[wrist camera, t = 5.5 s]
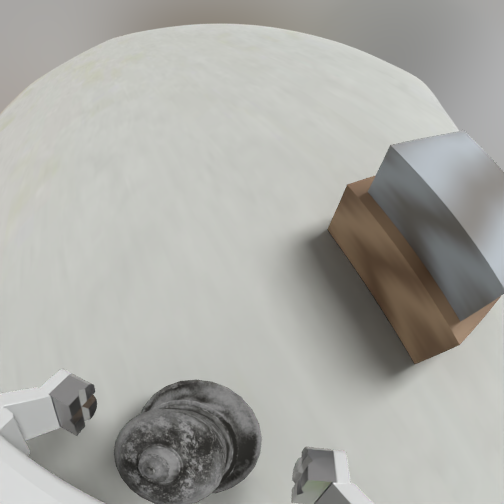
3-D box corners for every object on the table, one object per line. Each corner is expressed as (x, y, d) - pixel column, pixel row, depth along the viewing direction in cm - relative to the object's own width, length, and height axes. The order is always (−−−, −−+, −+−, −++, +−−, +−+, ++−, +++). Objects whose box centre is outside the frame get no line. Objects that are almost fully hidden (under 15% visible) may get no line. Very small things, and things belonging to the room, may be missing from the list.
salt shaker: (143, 396, 15) (15, 353, 5) (238, 375, 17) (250, 304, 6) (171, 486, 13) (79, 574, 2) (269, 464, 14) (336, 545, 3)
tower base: (327, 229, 22) (367, 136, 15) (418, 191, 26) (460, 121, 18) (414, 364, 17) (508, 318, 9) (490, 288, 20) (554, 235, 13)
